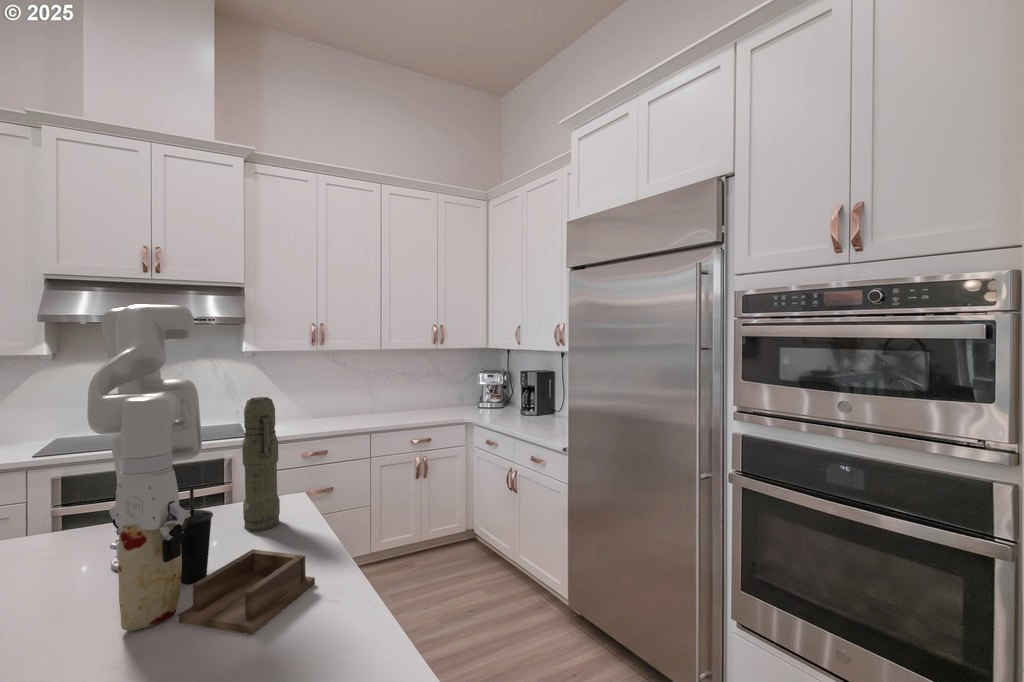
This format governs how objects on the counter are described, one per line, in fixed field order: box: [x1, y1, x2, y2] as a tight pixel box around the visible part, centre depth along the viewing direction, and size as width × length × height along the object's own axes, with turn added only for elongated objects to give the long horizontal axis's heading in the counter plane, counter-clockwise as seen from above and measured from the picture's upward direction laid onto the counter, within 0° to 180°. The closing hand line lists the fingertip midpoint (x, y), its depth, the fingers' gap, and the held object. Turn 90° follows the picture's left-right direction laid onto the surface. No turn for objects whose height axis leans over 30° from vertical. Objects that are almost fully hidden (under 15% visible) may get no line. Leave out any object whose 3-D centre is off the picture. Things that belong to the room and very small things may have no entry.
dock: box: [178, 549, 316, 636], centre depth 101 cm, size 16×18×6 cm
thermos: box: [241, 396, 281, 532], centre depth 139 cm, size 9×12×35 cm
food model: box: [117, 520, 182, 631], centre depth 94 cm, size 10×7×20 cm
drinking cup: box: [180, 486, 214, 586], centre depth 110 cm, size 8×8×20 cm
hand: (150, 556), depth 93 cm, fingers open, 9 cm apart
